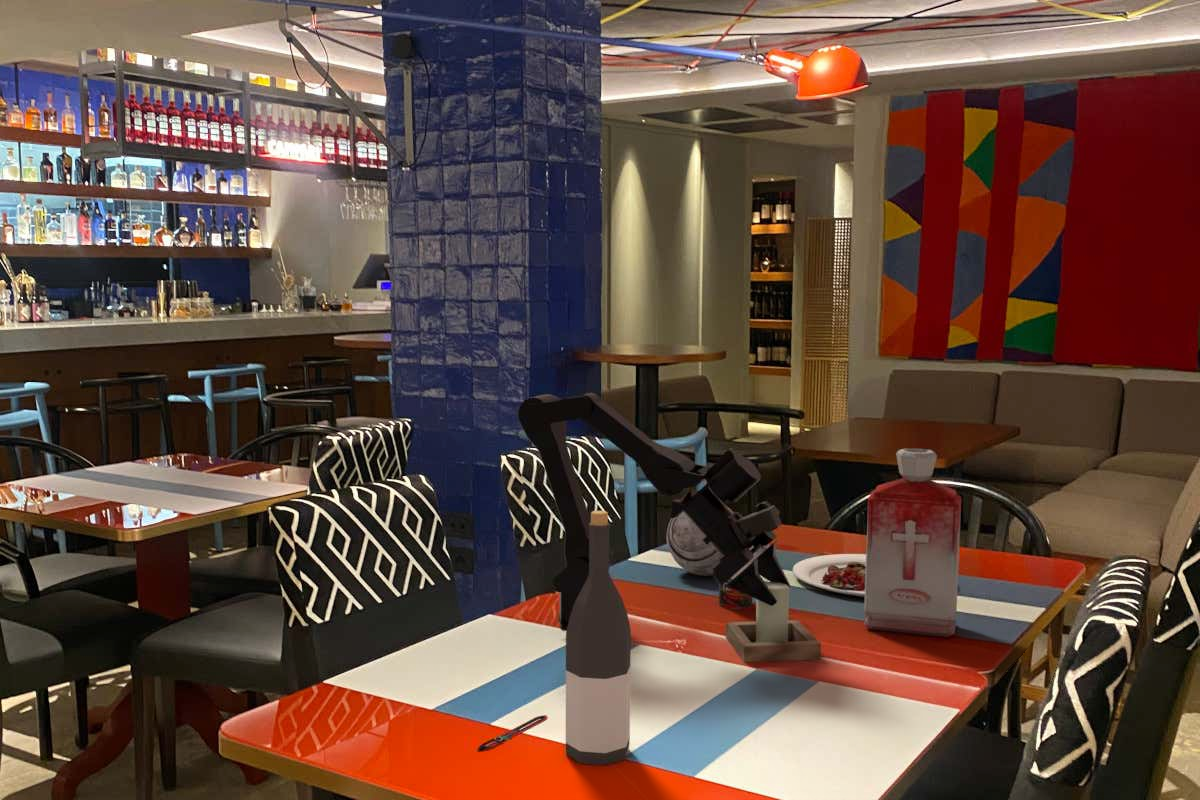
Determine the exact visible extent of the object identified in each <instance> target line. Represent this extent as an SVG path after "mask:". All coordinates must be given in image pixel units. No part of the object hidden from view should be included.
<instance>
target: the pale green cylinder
mask: <svg viewBox="0 0 1200 800" xmlns="http://www.w3.org/2000/svg"><path fill="white" fill-rule="evenodd" d="M764 582H765V583H766V585H767V586H768V588H769V589H770V591H771V592H772V594H773V595H774V597H775V598H776V600H777V603H776V604H774V605H773V606H770V605H768V604H766V603H764V602H762V601H760V600H758V599H756V603H755V605H756V607H755V611H756V612H755V617H756V618H755V621H756V639H755V643H761V642H789V641H788V640H789V638H788V620H789V608H790V607H789V604H790V602H789V601H790V588H789V586H788V585H786V584H782V583H776V582H770V581H768V582H766V581H764Z"/></svg>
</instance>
